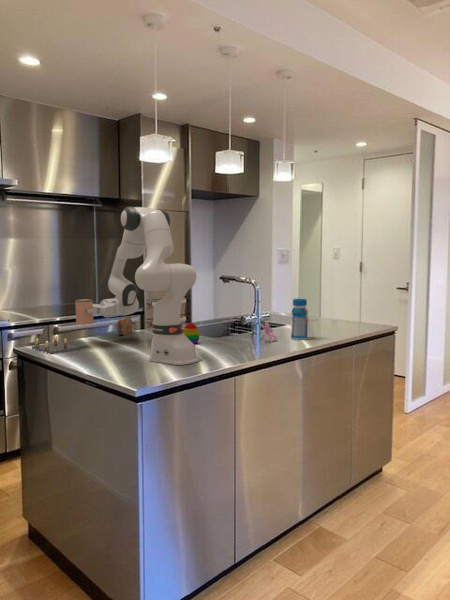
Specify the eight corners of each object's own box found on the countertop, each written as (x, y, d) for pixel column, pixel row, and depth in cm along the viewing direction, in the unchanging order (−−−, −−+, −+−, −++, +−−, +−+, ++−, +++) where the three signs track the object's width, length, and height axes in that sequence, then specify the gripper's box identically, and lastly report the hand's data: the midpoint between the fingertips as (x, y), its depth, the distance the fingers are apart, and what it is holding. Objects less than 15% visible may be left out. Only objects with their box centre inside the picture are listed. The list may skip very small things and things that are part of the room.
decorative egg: (179, 344, 230) (178, 323, 229) (188, 341, 237) (187, 321, 236) (193, 345, 226) (193, 324, 225) (202, 342, 233) (202, 322, 232)
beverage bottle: (296, 340, 238) (297, 300, 236) (287, 337, 245) (288, 298, 243) (311, 339, 241) (311, 299, 239) (301, 336, 249) (302, 298, 247)
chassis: (79, 349, 218) (79, 339, 217) (50, 354, 207) (50, 343, 207) (60, 344, 229) (60, 334, 229) (32, 349, 219) (31, 338, 218)
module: (93, 323, 223) (92, 299, 222) (82, 324, 219) (81, 300, 218) (86, 322, 226) (85, 299, 225) (76, 323, 222) (75, 300, 221)
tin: (121, 336, 252) (121, 320, 251) (116, 336, 253) (115, 320, 252) (132, 331, 267) (132, 316, 266) (127, 331, 267) (127, 316, 266)
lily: (259, 346, 229) (269, 329, 227) (247, 333, 238) (256, 317, 236) (277, 351, 237) (286, 334, 234) (264, 338, 245) (273, 322, 243)
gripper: (95, 300, 238) (70, 302, 228) (120, 302, 224) (94, 305, 214) (96, 313, 239) (70, 315, 228) (120, 316, 225) (95, 319, 215)
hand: (82, 310), depth 221 cm, fingers closed on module, 5 cm apart
